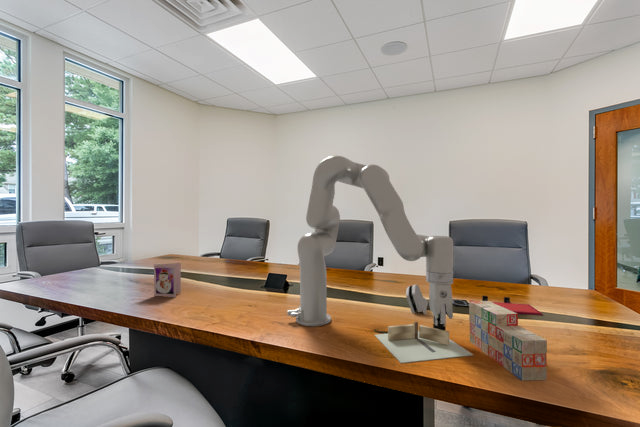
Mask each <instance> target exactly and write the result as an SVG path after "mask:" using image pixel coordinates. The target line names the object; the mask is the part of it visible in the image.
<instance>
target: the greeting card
mask: <svg viewBox="0 0 640 427" xmlns="http://www.w3.org/2000/svg"><path fill="white" fill-rule="evenodd" d="M181 265H182V264H181V262H176V263H174V262H173V263H160V264H157V263H156V264H153V297H155V296H168V297H167V298H176V297H177V294H176V293H182V291H181V290H182V288H181V287H182V286H181V282H182V281H181V280H182V278H181V277H182V276H181V275H182V273H181V272H182V271H181V270H182V268H181Z"/></svg>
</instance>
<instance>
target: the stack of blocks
mask: <svg viewBox="0 0 640 427" xmlns="http://www.w3.org/2000/svg"><path fill="white" fill-rule="evenodd" d="M492 302H493V301H490V300H488V301H482V300H472V301H470V302H469V301H468V303H469V306H468V309H469V310H468V320H469V343H471V344H472V345H473V346H475V347H476V348H477V349H478V350H480V351H481V352H482V353H484V354H485V355H486V356H488V357H489V358H490V359H492V360H494V361H495V362H496V363H498V364H499V365H501V366H502V367H503V368H504V369H505V370H507V372H509V373H511V374H513V376H515V377H516V378H517V379H519V380H520V381H546V380H547V378H548V376H547V367H548V366H547V365H548V364H547V363H548V360H547V353H548V340H547V339H545V338H544V337H542V336H540V335H537V334H535V333H534V332H532V331H530V330H529V329H526V328H524V327H522V326H519V314H517V313H515V312H512V311H510V310H508V309H506V308H503V307H501V306H499V305H496V304H494V303H492Z"/></svg>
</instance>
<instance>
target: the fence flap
mask: <svg viewBox="0 0 640 427" xmlns="http://www.w3.org/2000/svg"><path fill="white" fill-rule="evenodd" d="M418 331H419V338H422V339H426V340H430V341H434V342H438V343H442V344H446V345H449V339H450V330H449V331H448V330H446V331H445V330H440V329H436V328H433V327H432V326H431V327H430V326H425V325H423V324H422V325H421V324H418Z"/></svg>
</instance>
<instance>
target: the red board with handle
mask: <svg viewBox="0 0 640 427" xmlns="http://www.w3.org/2000/svg"><path fill="white" fill-rule="evenodd" d="M481 299H482V300H481V301H489V300H488V299H489V296H488V295H482V296H481ZM470 301H473V300H470V299H469V301H468V300H467V299H460V298H459V299H458V298H457V299H455V298H452V305H454V306H466V307H467V306H468V307H469V302H470ZM491 302H492V303H494V304H496V305H499V306H501V307H503V308H506V309H508V310H510V311H512V312H515V313H517V314H518V315H529V316H530V315H531V316H532V315H533V316H543V315H544V314H543V312H541V311H539V310H538V309H536V308H535V307H534V306H532V305H530V304H529V303H528V304H527V303H515V302H514V303H513V302H511V299H510V296H508V297H507V296H504V297H503V302H501V301H500V302H499V301H498V302H497V301H491Z"/></svg>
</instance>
